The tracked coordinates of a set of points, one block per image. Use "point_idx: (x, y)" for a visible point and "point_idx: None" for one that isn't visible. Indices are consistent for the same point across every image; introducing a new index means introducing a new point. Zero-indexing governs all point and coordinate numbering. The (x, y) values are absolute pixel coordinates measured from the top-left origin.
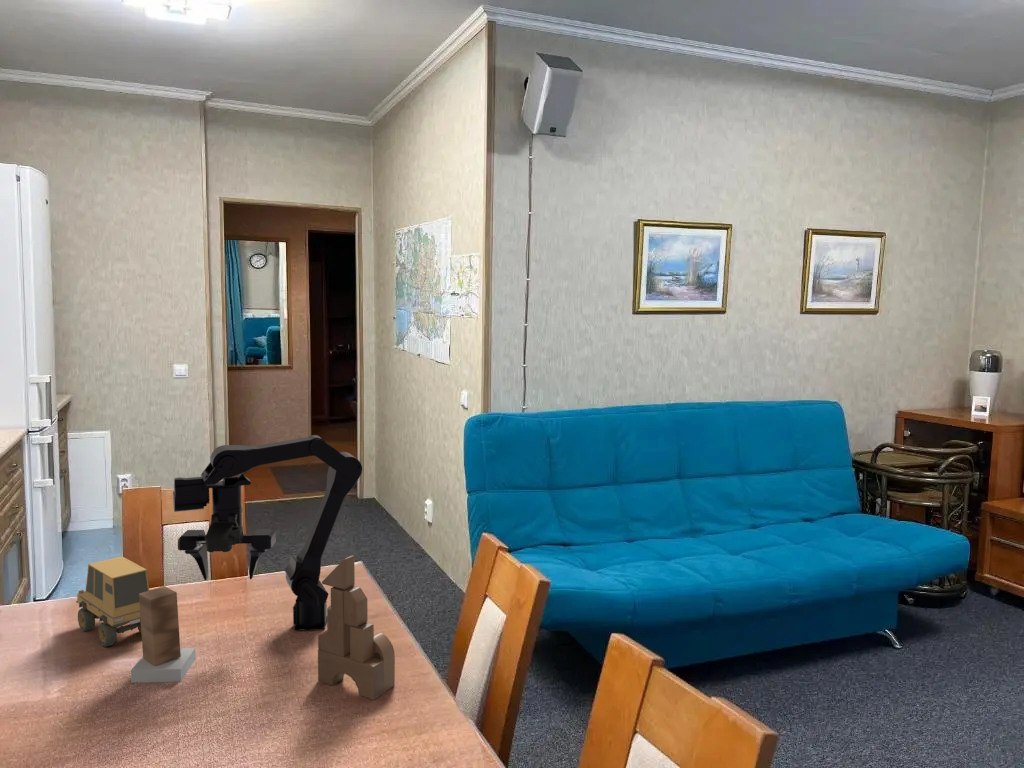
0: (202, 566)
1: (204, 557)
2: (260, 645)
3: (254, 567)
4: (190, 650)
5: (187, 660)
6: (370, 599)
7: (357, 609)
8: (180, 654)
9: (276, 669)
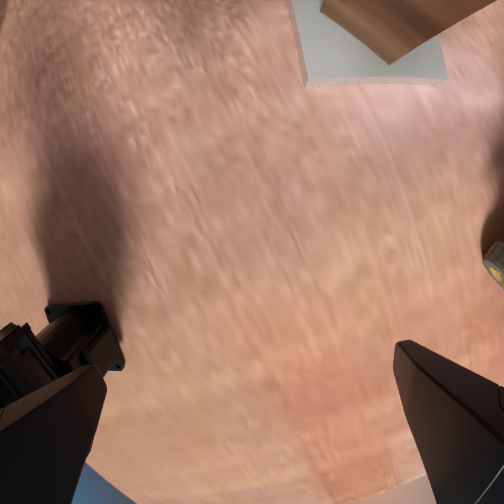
0: (469, 394)
1: (475, 486)
2: (144, 204)
3: (18, 400)
4: (314, 59)
5: (292, 7)
6: None
7: None
8: (321, 8)
9: (62, 79)
